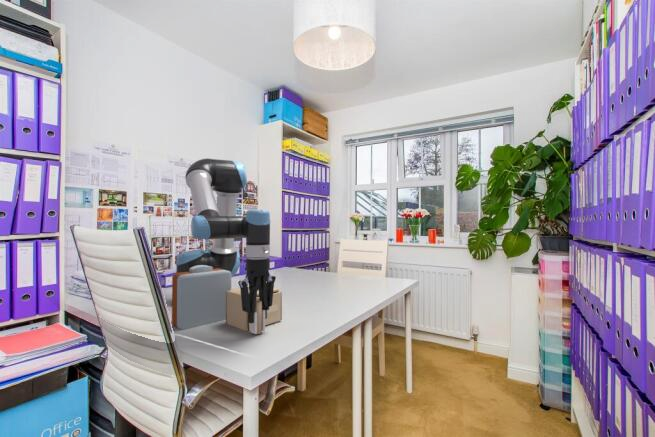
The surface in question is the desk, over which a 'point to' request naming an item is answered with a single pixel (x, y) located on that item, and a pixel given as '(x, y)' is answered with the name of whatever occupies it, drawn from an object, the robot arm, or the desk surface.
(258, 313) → the flap
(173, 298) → the grey rounded slab
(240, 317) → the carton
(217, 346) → the desk surface
